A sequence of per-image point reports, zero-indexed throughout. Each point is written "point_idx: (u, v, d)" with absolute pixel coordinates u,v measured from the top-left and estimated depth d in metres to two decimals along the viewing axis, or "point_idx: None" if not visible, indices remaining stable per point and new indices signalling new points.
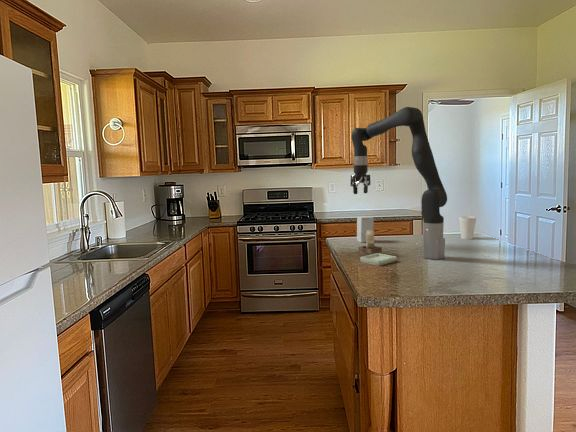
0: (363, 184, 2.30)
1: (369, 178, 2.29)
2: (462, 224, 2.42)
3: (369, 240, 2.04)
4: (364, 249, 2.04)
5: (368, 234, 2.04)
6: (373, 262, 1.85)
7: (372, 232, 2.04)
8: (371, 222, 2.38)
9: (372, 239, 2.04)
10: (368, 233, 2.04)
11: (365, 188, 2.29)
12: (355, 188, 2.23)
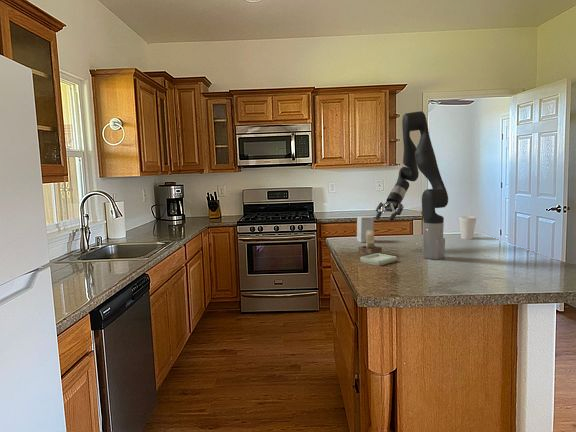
0: None
1: (399, 206, 2.11)
2: (462, 224, 2.42)
3: (369, 240, 2.04)
4: (364, 249, 2.04)
5: (368, 234, 2.04)
6: (373, 262, 1.85)
7: (372, 232, 2.04)
8: (371, 222, 2.38)
9: (372, 239, 2.04)
10: (368, 233, 2.04)
11: None
12: (377, 213, 2.17)
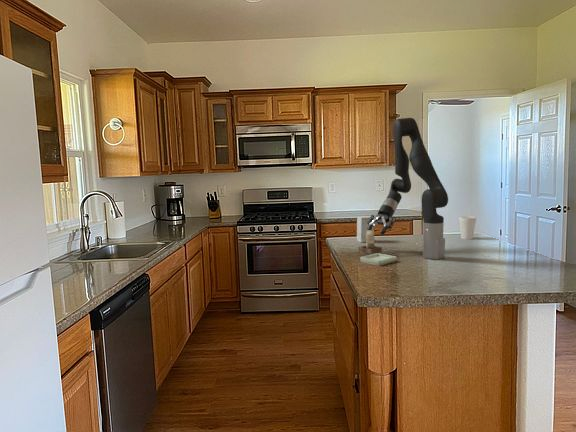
0: None
1: (390, 220, 2.06)
2: (462, 224, 2.42)
3: (369, 240, 2.04)
4: (364, 249, 2.04)
5: (368, 234, 2.04)
6: (373, 262, 1.85)
7: (372, 232, 2.04)
8: None
9: (372, 239, 2.04)
10: (368, 233, 2.04)
11: None
12: (368, 226, 2.13)
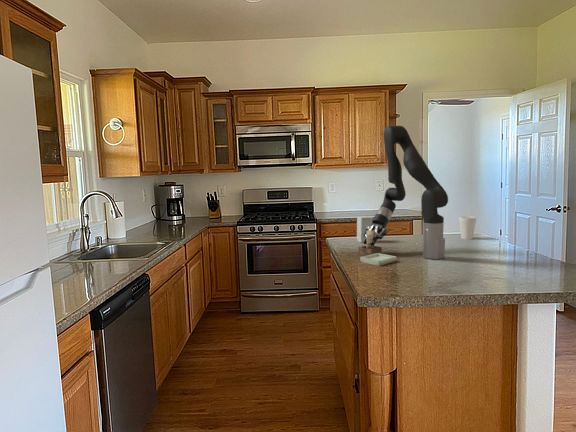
0: None
1: (382, 231, 2.03)
2: (462, 224, 2.42)
3: (369, 240, 2.04)
4: (364, 249, 2.04)
5: (368, 234, 2.04)
6: (373, 262, 1.85)
7: (372, 232, 2.04)
8: (371, 222, 2.38)
9: None
10: (368, 233, 2.04)
11: None
12: None
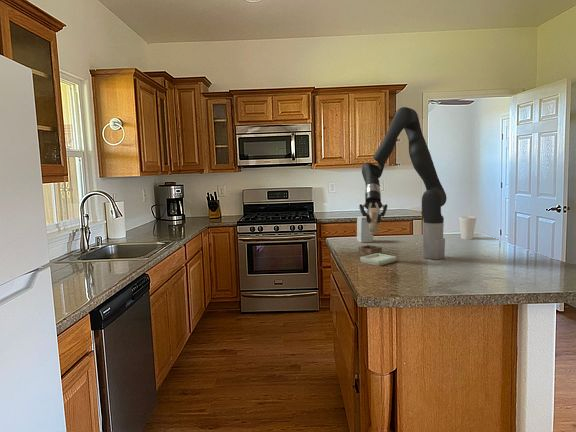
0: None
1: (385, 207, 1.95)
2: (462, 224, 2.42)
3: (375, 218, 1.92)
4: (364, 249, 2.04)
5: (374, 212, 1.91)
6: (373, 262, 1.85)
7: (377, 209, 1.92)
8: None
9: (377, 217, 1.93)
10: (374, 211, 1.91)
11: None
12: (367, 216, 1.94)
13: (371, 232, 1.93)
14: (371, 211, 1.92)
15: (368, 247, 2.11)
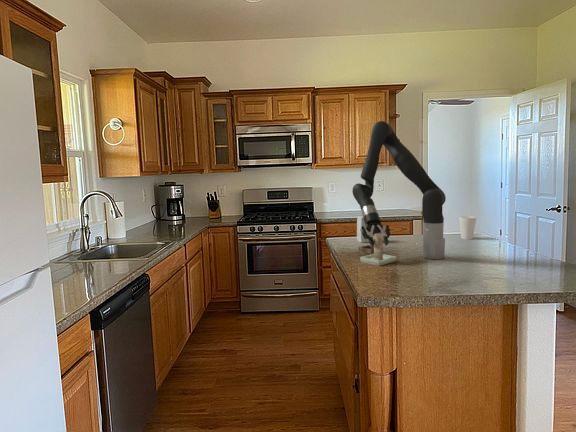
0: None
1: (387, 228, 1.93)
2: (462, 224, 2.42)
3: (381, 244, 1.88)
4: (364, 249, 2.04)
5: (380, 238, 1.88)
6: (373, 262, 1.85)
7: (382, 235, 1.89)
8: None
9: (382, 242, 1.89)
10: (380, 237, 1.88)
11: (384, 239, 1.90)
12: (370, 238, 1.89)
13: (377, 258, 1.89)
14: (377, 237, 1.88)
15: (368, 247, 2.11)
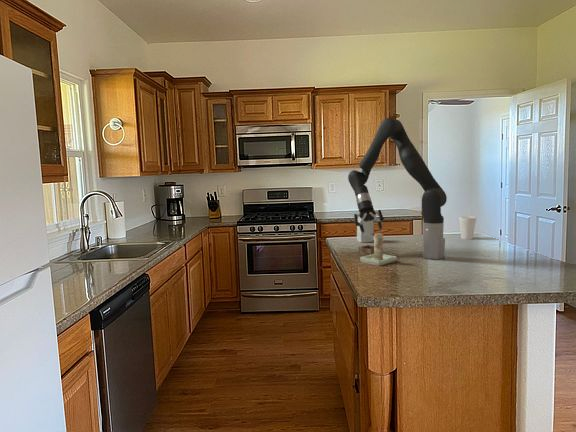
0: (376, 221, 2.06)
1: (380, 213, 2.06)
2: (462, 224, 2.42)
3: (381, 244, 1.88)
4: (364, 249, 2.04)
5: (380, 238, 1.88)
6: (373, 262, 1.85)
7: (382, 235, 1.89)
8: (371, 222, 2.38)
9: (382, 242, 1.89)
10: (380, 237, 1.88)
11: (378, 224, 2.04)
12: (360, 226, 2.04)
13: (377, 258, 1.89)
14: (377, 237, 1.88)
15: (368, 247, 2.11)
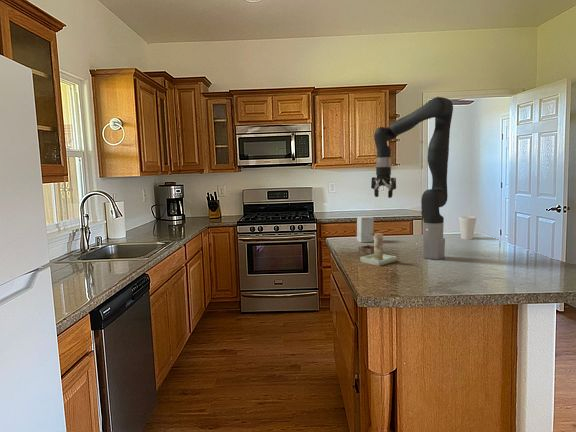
0: None
1: (392, 181, 2.07)
2: (462, 224, 2.42)
3: (381, 244, 1.88)
4: (364, 249, 2.04)
5: (380, 238, 1.88)
6: (373, 262, 1.85)
7: (382, 235, 1.89)
8: (371, 222, 2.38)
9: (382, 242, 1.89)
10: (380, 237, 1.88)
11: None
12: (374, 191, 2.17)
13: (377, 258, 1.89)
14: (377, 237, 1.88)
15: (368, 247, 2.11)
